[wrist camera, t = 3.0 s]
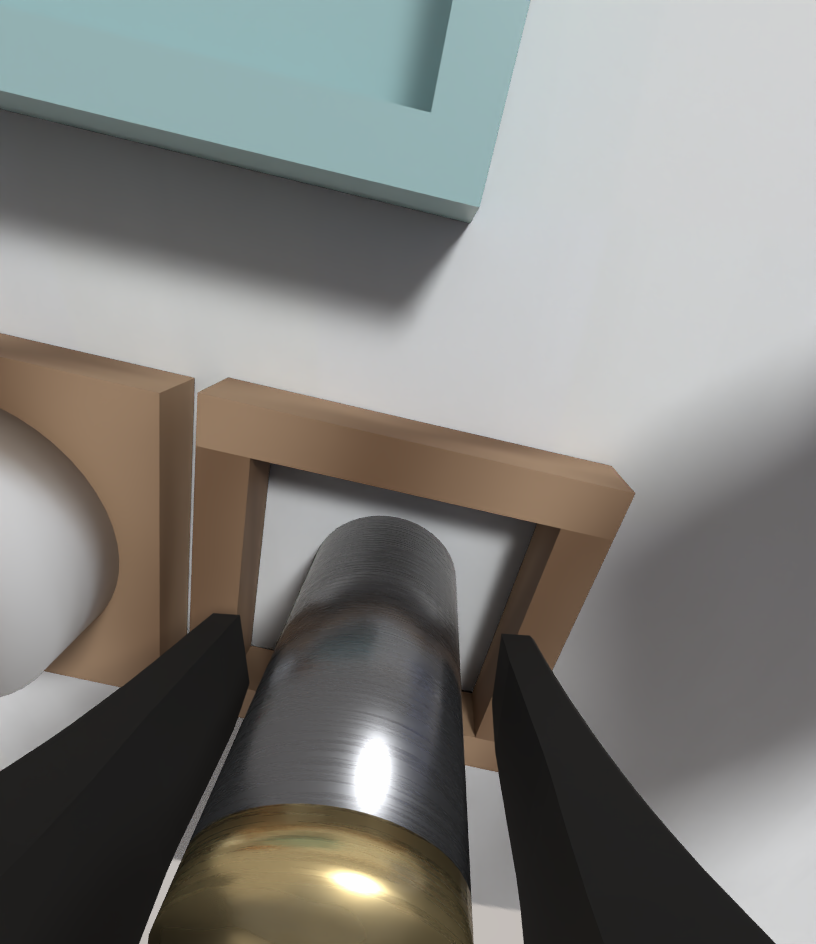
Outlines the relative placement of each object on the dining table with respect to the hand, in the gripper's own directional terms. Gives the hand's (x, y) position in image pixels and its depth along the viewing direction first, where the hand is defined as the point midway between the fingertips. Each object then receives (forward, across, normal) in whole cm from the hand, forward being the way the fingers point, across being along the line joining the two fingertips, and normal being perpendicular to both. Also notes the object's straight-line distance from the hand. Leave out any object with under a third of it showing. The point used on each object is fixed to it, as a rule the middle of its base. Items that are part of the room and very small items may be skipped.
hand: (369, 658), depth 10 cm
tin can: (+3, 0, 0) cm, 3 cm away
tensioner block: (+3, +5, -1) cm, 6 cm away
